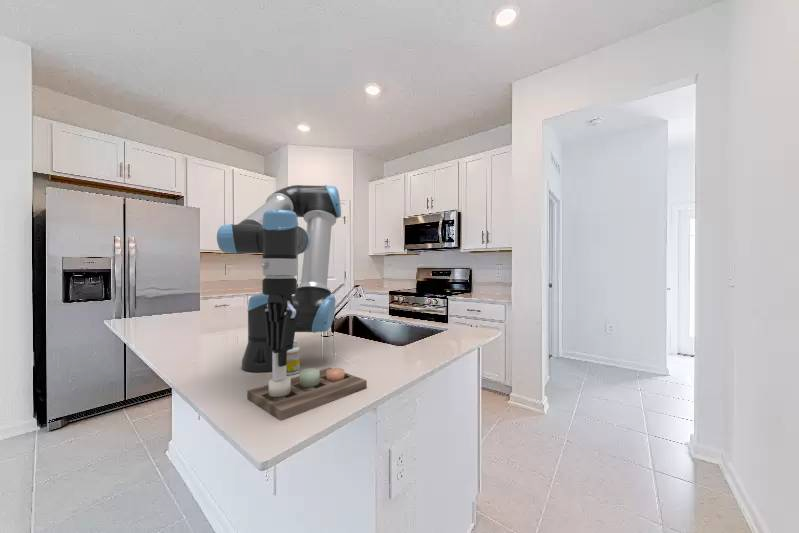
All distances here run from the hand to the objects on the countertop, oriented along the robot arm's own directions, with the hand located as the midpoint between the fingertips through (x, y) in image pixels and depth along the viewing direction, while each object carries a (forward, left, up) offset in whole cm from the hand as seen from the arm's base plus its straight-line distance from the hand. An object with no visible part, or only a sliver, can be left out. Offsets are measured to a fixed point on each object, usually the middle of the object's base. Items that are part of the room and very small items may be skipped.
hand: (279, 379), depth 75 cm
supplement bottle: (-18, +13, -6) cm, 23 cm away
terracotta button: (0, +16, -5) cm, 17 cm away
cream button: (0, 0, -3) cm, 3 cm away
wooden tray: (0, +8, -6) cm, 10 cm away
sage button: (0, +8, -3) cm, 9 cm away
